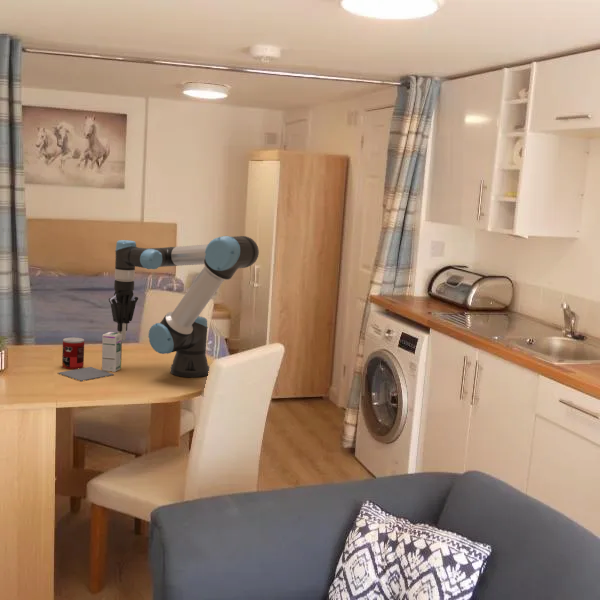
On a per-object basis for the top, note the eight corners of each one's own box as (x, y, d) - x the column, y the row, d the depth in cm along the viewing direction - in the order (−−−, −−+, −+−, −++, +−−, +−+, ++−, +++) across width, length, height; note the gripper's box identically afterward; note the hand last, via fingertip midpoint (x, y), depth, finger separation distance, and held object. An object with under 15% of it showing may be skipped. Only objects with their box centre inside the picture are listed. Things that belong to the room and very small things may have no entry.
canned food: (60, 365, 288) (61, 337, 287) (81, 364, 292) (82, 337, 290) (64, 369, 282) (64, 341, 280) (85, 368, 285) (86, 341, 284)
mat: (113, 375, 279) (113, 374, 279) (81, 381, 267) (81, 380, 267) (90, 367, 287) (90, 366, 287) (57, 373, 275) (57, 372, 275)
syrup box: (115, 372, 284) (117, 335, 282) (101, 370, 285) (102, 333, 282) (121, 368, 289) (122, 332, 287) (107, 367, 290) (108, 331, 288)
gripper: (131, 277, 293) (128, 335, 297) (104, 279, 283) (102, 339, 286) (143, 280, 289) (141, 339, 292) (117, 282, 278) (114, 343, 282)
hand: (121, 339), depth 289 cm, fingers closed
